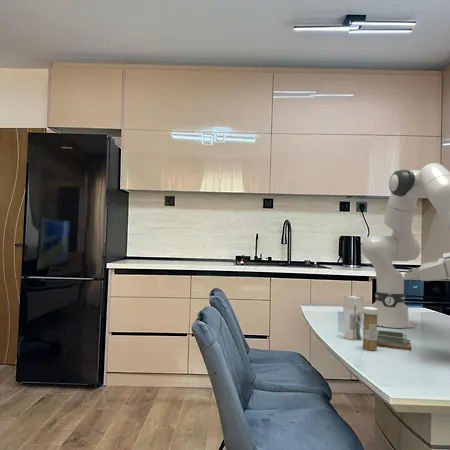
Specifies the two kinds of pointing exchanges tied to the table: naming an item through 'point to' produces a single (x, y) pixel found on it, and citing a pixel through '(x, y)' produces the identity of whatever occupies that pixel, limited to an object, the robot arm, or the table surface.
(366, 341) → the sprinkles bottle
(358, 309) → the beer glass
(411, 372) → the table surface
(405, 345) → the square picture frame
